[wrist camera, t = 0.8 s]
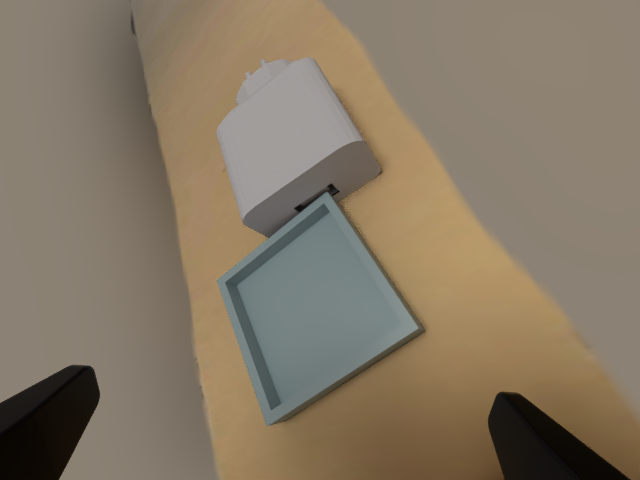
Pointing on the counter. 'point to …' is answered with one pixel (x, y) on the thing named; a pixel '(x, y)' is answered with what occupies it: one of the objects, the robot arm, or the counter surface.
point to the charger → (290, 144)
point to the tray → (313, 310)
